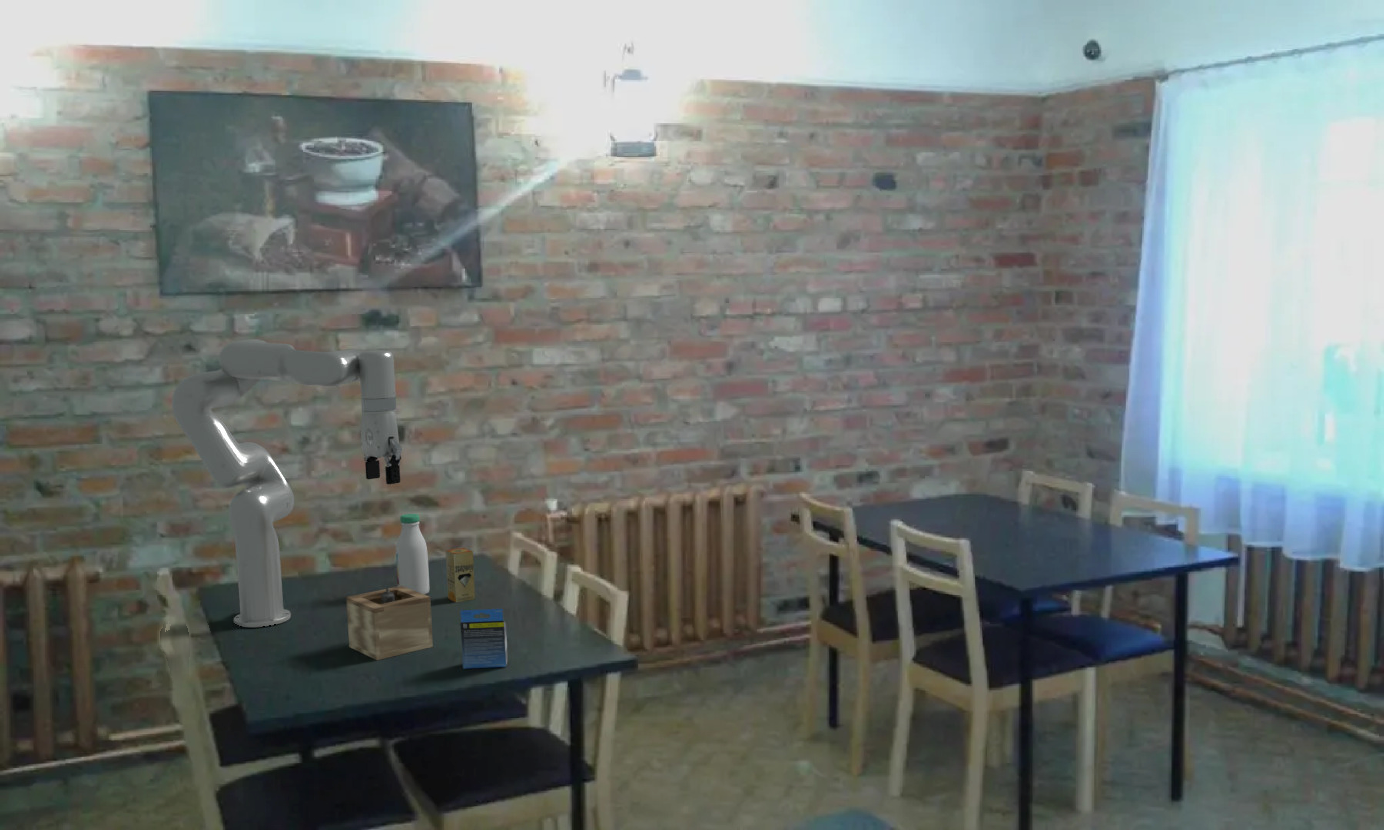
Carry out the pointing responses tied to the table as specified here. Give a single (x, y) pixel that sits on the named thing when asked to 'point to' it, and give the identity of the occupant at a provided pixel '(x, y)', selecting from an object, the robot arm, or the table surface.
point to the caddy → (389, 623)
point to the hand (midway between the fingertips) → (383, 480)
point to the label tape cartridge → (483, 638)
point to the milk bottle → (412, 556)
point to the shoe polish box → (460, 575)
